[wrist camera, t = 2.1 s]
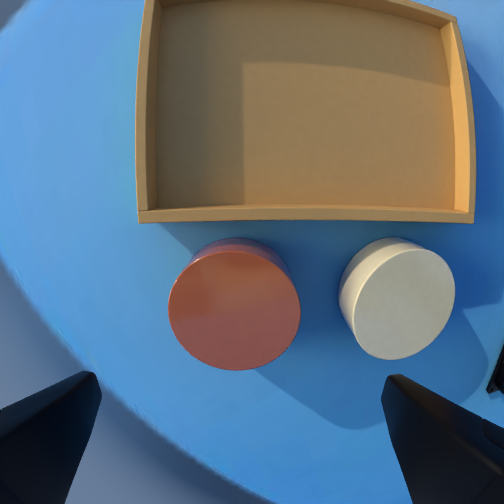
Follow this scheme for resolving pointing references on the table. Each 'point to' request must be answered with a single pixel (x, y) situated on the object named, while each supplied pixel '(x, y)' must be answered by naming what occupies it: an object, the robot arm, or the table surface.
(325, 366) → the table surface
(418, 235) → the table surface
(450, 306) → the white short cylinder
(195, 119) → the serving tray
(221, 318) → the reddish-brown short cylinder
